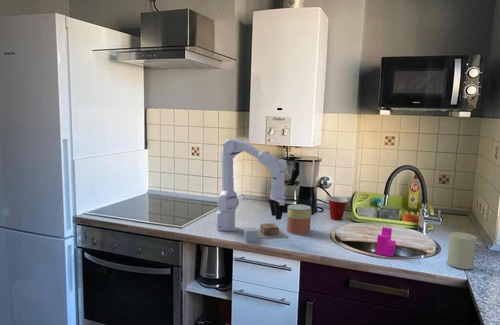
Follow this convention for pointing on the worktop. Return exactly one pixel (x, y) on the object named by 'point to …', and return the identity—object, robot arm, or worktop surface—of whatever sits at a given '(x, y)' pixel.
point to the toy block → (385, 243)
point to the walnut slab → (269, 229)
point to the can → (461, 250)
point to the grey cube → (250, 234)
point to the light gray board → (281, 235)
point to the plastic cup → (337, 207)
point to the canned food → (298, 219)
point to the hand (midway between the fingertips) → (276, 217)
